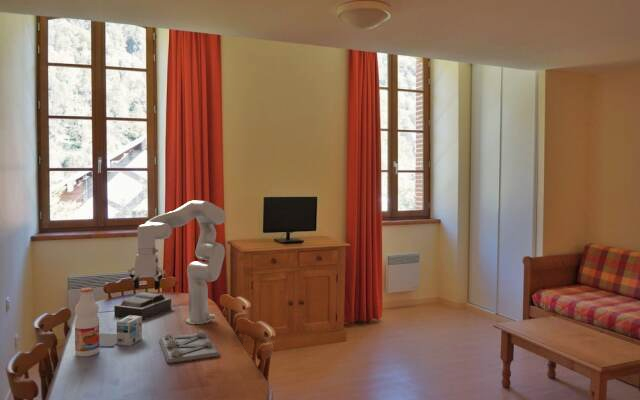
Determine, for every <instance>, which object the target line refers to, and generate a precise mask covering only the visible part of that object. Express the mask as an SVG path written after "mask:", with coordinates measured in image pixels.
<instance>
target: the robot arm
mask: <svg viewBox="0 0 640 400" xmlns="http://www.w3.org/2000/svg"><path fill="white" fill-rule="evenodd" d="M226 218H227V214H226V212H225V210H224V209H222V208H221V207H219V206H217V205H216V204H214V203H212V202H210V201H207V200H191V201H187V202H186V203H185V204H183V205H181V206H179V207H178V208H176V209H175V210H173V211H169V212H166V213H163V214H159V215H156V216H154V217H153V218H151V219H149V220H147V221H145V222H144V224H140V225H138V226H137V254H136V257H135V260H134V267H132V268H130V269H128V270H127V272H128V274H129V277H130V278H131V280H132V281H133V288H134V290H137V289H139V288H140V278H139V277H141V278H143V277H144V278H153V279H154V280H155V281H154V291H157V290H159V289H160V287H161V280H162V279H163V278H164V276H165V274H166V270H164V269H162V268H161V267H160V261H159V258H158V257H159V256H158V254H157V253H159V249H156V240H166V239H168V238H169V237H170V236H171V235H172V233H173V231H172V228H178V227H182V226H185V225H187V224H188V223H189V222H191V221H193V219H196V221H197V223H198V225H199V228H200V232H199V237H198V241H197V244H196V248H195V253H194V255H195V257H196V258H197V259H199V260H204V261H199V260H195V261H192V262H190V263H189V264H188V265H187V268H186V274H187V280H188V317H187V318H186V319H185V322H186V324H189V325H195V324H197V325H204V323H205V324H208V323H210V322H211V320H212V319H213V320H214V319H216V318H217V317H216V314H215V313H213V314H211V313H210V311H209V308H208V307H209V299H208V297H209V296H208V293H209V292H208V289H209V288H208V284H207V282H215V281H217V280H218V278H219V277H220V275H221V274H220V273H221V271H222V267H223V263H224V259H225V256H226V250H225V249H226V248H225V246H224V244H222V243H220V242H216V238H217V230H216V227H215V226H214V225H216V226H217V225H218V226H219V225H222V224H223V223H225V221H226Z"/></svg>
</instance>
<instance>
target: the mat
mask: <svg viewBox="0 0 640 400" xmlns="http://www.w3.org/2000/svg"><path fill="white" fill-rule="evenodd" d="M115 346H118V345H117V333H99V348H115Z"/></svg>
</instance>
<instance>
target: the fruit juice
mask: <svg viewBox="0 0 640 400" xmlns="http://www.w3.org/2000/svg"><path fill="white" fill-rule="evenodd" d="M79 292H80V297H79V301H78V303H77V304H76V306H75V307H74V313H75V320H74V348H75V349H74V351H75V353H74V354H75V355H76V356H77V357H81V358H83V357H84V358H85V357H92V356H94V355H96V354H98V353H99V352H100V347H99V334H100V317H99V316H98V314H99V313H98V312H99V309H100V308H99V305H98V302H97V301H96V300H95V298H94V294H93V292H94V288H93V287H88V286H86V287H82V288H80V290H79Z"/></svg>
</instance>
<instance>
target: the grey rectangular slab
mask: <svg viewBox="0 0 640 400" xmlns="http://www.w3.org/2000/svg"><path fill="white" fill-rule="evenodd" d="M164 334H165V335H164V337H161V338H160V339H159V340H158V341H159V344H160V346H161V349H162V351H163V354H164V357H165V359H166V362H167V363H168V364H169V365H173V364H177V363H185V362H186V361H187V362H192V360H193V361H199V360H198V359H200V360H206V359H205V358H207V359H211V358H210V357H214V358H217V357H216V356H218V357H219V356H220V355H221V353H220V352H219V351H218V349H217V347H216V346H215V345H214V342H213V341H212V340H211V339H210V337H209V336H208V334H207V332H206V331H205V330H204V329H199V330H198V331H196V333H191V334H183V335H173V334H172V333H170V332H168V333H164Z"/></svg>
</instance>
